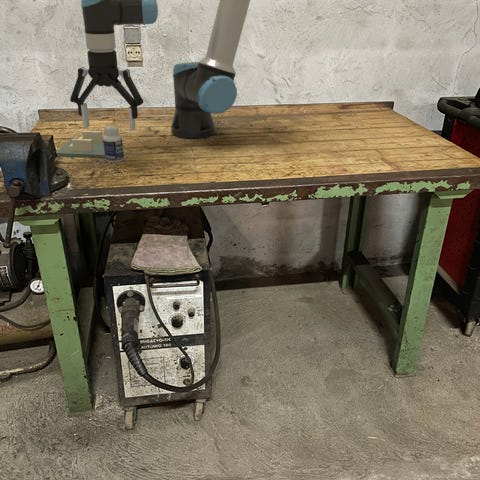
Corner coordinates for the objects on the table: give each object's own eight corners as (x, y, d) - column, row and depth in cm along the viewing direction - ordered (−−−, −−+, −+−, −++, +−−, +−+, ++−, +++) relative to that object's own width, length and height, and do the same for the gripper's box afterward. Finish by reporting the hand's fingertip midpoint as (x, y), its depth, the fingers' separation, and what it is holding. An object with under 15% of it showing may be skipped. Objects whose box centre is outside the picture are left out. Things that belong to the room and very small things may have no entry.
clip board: (120, 143, 161) (119, 129, 159) (106, 158, 149) (104, 143, 147) (73, 141, 162) (71, 127, 160) (54, 156, 150) (52, 141, 148)
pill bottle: (119, 163, 145) (116, 131, 140) (102, 162, 146) (98, 129, 141) (127, 157, 150) (123, 125, 145) (110, 156, 151) (106, 124, 146)
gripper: (151, 49, 135) (155, 127, 145) (62, 46, 137) (72, 122, 147) (143, 54, 128) (148, 134, 139) (50, 50, 130) (62, 129, 141)
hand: (109, 128), depth 143 cm, fingers open, 13 cm apart
